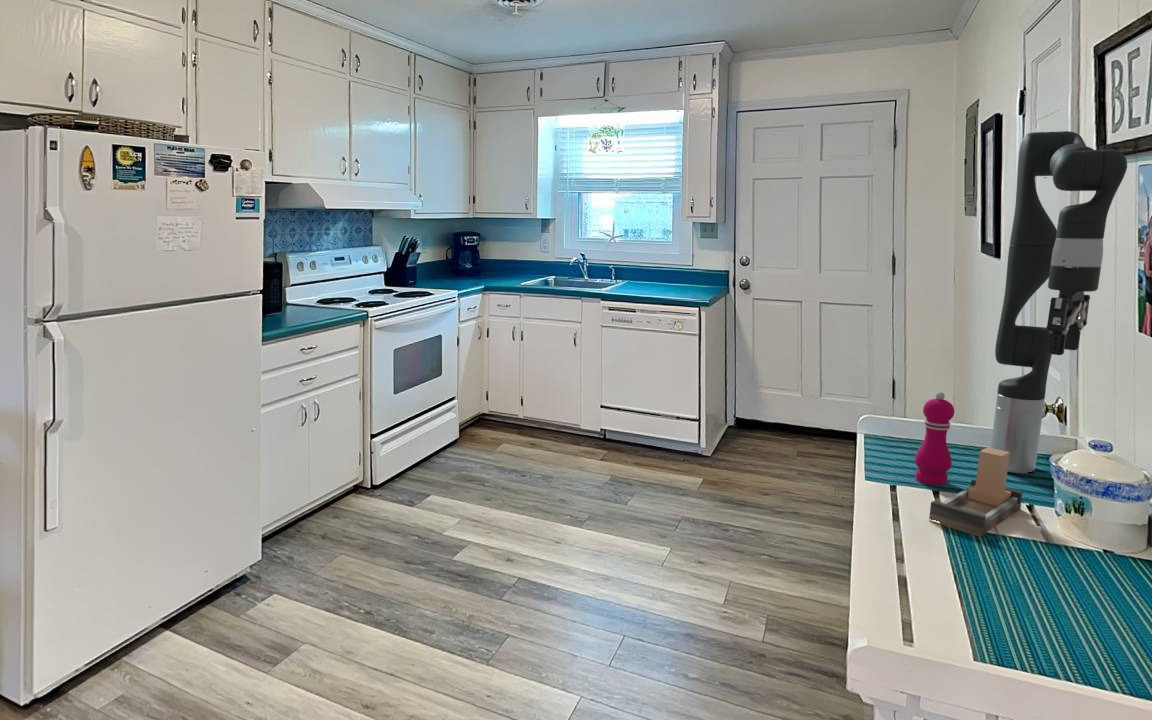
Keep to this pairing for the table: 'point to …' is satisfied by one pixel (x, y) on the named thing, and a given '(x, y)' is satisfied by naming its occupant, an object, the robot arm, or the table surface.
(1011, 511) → the track
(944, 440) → the pepper mill
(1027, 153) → the robot arm
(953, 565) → the table surface
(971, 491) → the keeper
